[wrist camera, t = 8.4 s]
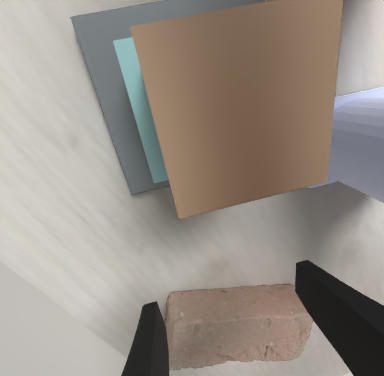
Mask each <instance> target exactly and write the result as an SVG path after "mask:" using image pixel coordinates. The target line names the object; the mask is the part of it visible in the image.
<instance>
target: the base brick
mask: <svg viewBox="0 0 384 376" xmlns="http://www.w3.org/2000/svg"><path fill="white" fill-rule="evenodd" d="M113 43H114V46H115V50H116V53H117V57H118V60H119V64H120V67H121V71H122V74H123V78H124V81H125V85H126V88H127V92H128V95H129V99H130V102H131V106H132V109H133V113H134V116H135V120H136V123H137V126H138V130H139V133H140V137H141V140H142V144H143V147H144V151H145V154H146V158H147V161H148V165H149V168H150V172H151V175H152V179H153V182H154V183H158V182H162V181H166V180H169V179H168V175H167V171H166V167H165V163H164V159H163V155H162V151H161V147H160V143H159V139H158V135H157V131H156V127H155V124H154V120H153V116H152V112H151V108H150V104H149V100H148V96H147V92H146V88H145V84H144V80H143V76H142V72H141V68H140V64H139V60H138V56H137V52H136V49H135V45H134V41H133V37H131V38H125V39H120V40H115V41H113Z"/></svg>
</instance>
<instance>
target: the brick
mask: <svg viewBox="0 0 384 376" xmlns="http://www.w3.org/2000/svg"><path fill="white" fill-rule="evenodd" d="M166 304H167V314H166V319H165V327H166V332H167V341H168V350H169V370H180V369H182V368H189V367H191V368H203V367H204V366H212V365H216V364H221V363H225V362H226V361H228V360H229V361H240V362H251V361H253V360H261V361H264V360H265V361H270V360H271V361H280V360H282V361H287V360H293V359H295V358H297V357H298V356H299V355H300V353H301V351H303V349H304V346H305V344H306V340H307V339H308V337H309V334H310V330H311V327H312V322H313V319H312V318H311V316H310V315H309V313H308V312H307V311H306V309H305V307H304V306H303V304H302V302H301V301H300V299H299V297H298V295H297V294H296V292H295V286H294V285H279V284H277V285H273V286H269V285H263V286H243V287H232V288H218V289H209V290H206V289H201V290H191V291H183V292H173V293H170V294H169V297H168V301H167V303H166Z"/></svg>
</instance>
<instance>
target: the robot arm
mask: <svg viewBox="0 0 384 376" xmlns="http://www.w3.org/2000/svg"><path fill="white" fill-rule="evenodd" d="M335 182H341V183H343V184H345V185H347V186H350V187H352V188H354V189H356V190H358V191H360V192H362V193H364V194H366V195H368V196H370V197H372V198H375V199H377V200H379V201H381V202H383V203H384V86H383V87H379V88H374V89H370V90H365V91H360V92H356V93H351V94H347V95H342V96H338V97H335V101H334V112H333V123H332V134H331V145H330V157H329V168H328V179H327V182H325V183H321V184H317V185H313V186H309V187H308V188H310V189H311V188H315V187H319V186H323V185H327V184H331V183H335ZM295 292H296V294H297V295H298V297H299V299H300V301H301V302H302V304H303V306H304V307H305V309H306V311H307V312H308V313H309V315H310V316H311V318H312V319H313V320H314V322H315V323H316V324H317V326H318V327H319V328H320V330H321V331H322V332H323V334H324V335H325V336H326V338H327V339H328V341H329V342H330V343H331V345H332V346H333V347H334V349H335V350H336V351H337V353H338V354H339V355H340V357H341V358H342V359H343V361H344V362H345V364H346V365H347V366H348V368H349V369H350V371H351V372H352V374H353V376H384V306H383V305H381V304H379V303H378V302H376V301H374V300H372V299H370V298H369V297H367V296H365V295H363V294H362V293H360V292H358V291H357V290H355V289H353V288H352V287H350V286H348V285H347V284H345V283H343V282H342V281H340V280H338V279H337V278H335V277H334V276H332V275H331V274H329V273H327V272H326V271H324V270H323V269H321V268H320V267H318V266H316V265H315V264H313V263H312V262H310V261H308V260H305V261H302V262H298V263H296V281H295ZM121 376H169V350H168V341H167V332H166V327H165V324H164V321H163V318H162V315H161V312H160V309H159V306H158V303H157V301H156V302H152V303H149V304H145V305H144V306H143V307H142V311H141V316H140V320H139V323H138V327H137V331H136V334H135V337H134V341H133V344H132V347H131V350H130V353H129V356H128V359H127V362H126V365H125V367H124V370H123V372H122V375H121Z"/></svg>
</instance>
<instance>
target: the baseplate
mask: <svg viewBox="0 0 384 376" xmlns="http://www.w3.org/2000/svg"><path fill="white" fill-rule="evenodd" d="M260 2H263V0H164V1H158V2H152V3H147V4H141V5H135V6H130V7H124V8H118V9H113V10H107V11H101V12H96V13H90V14H84V15H78V16H73V17H70V18H71V20H72V23H73V26H74V29H75V32H76V35H77V38H78V41H79V44H80V47H81V50H82V52H83V55H84V58H85V61H86V64H87V67H88V70H89V73H90V76H91V79H92V81H93V84H94V87H95V90H96V93H97V96H98V99H99V102H100V105H101V108H102V111H103V113H104V116H105V119H106V122H107V125H108V128H109V131H110V134H111V137H112V140H113V142H114V145H115V148H116V151H117V154H118V157H119V160H120V163H121V166H122V169H123V172H124V174H125V177H126V180H127V183H128V186H129V189H130V192H131V195H132V194H136V193H141V192H145V191H149V190H153V189H157V188H161V187H166V186H170V183H169V180H166V181H162V182H158V183H154V182H153V179H152V175H151V172H150V168H149V165H148V161H147V158H146V154H145V151H144V147H143V144H142V140H141V137H140V133H139V130H138V126H137V123H136V120H135V116H134V113H133V109H132V106H131V102H130V99H129V95H128V92H127V88H126V85H125V81H124V78H123V74H122V71H121V67H120V64H119V60H118V57H117V53H116V50H115V46H114V43H113V41H115V40H120V39H125V38H131V37H132V33H131V29H130V26H135V25H140V24H146V23H151V22H156V21H162V20H167V19H173V18H178V17H184V16H189V15H195V14H200V13H206V12H211V11H216V10H222V9H227V8H233V7H238V6H244V5H249V4H255V3H260Z"/></svg>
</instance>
